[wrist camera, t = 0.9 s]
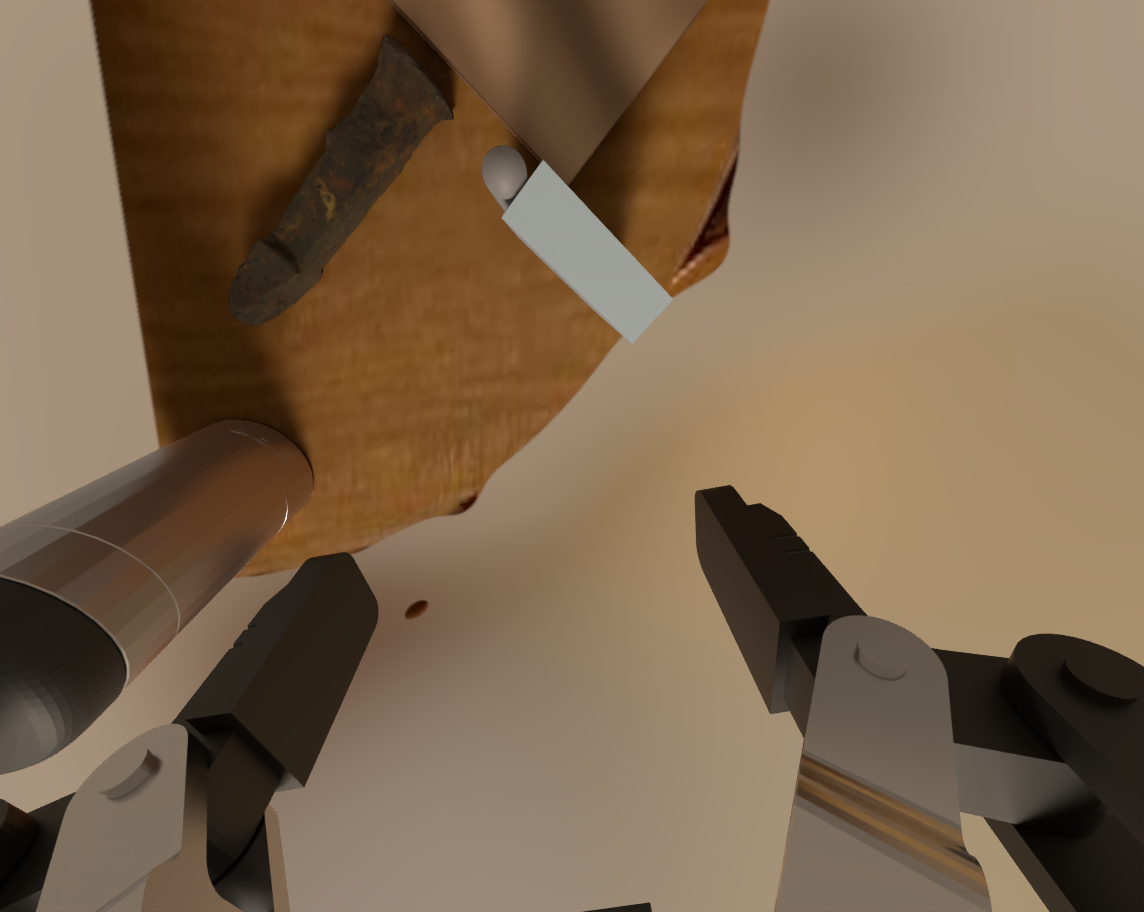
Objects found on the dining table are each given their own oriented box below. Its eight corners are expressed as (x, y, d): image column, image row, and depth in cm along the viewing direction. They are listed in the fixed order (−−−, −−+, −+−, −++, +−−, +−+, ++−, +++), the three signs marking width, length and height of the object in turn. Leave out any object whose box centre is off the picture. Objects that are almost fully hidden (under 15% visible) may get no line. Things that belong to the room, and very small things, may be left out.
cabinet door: (593, 310, 30) (632, 344, 17) (500, 219, 27) (465, 183, 15) (616, 283, 29) (673, 299, 17) (523, 188, 27) (507, 121, 14)
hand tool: (408, 52, 24) (379, 6, 19) (460, 118, 25) (444, 89, 21) (230, 288, 28) (175, 292, 24) (283, 332, 30) (240, 344, 25)
